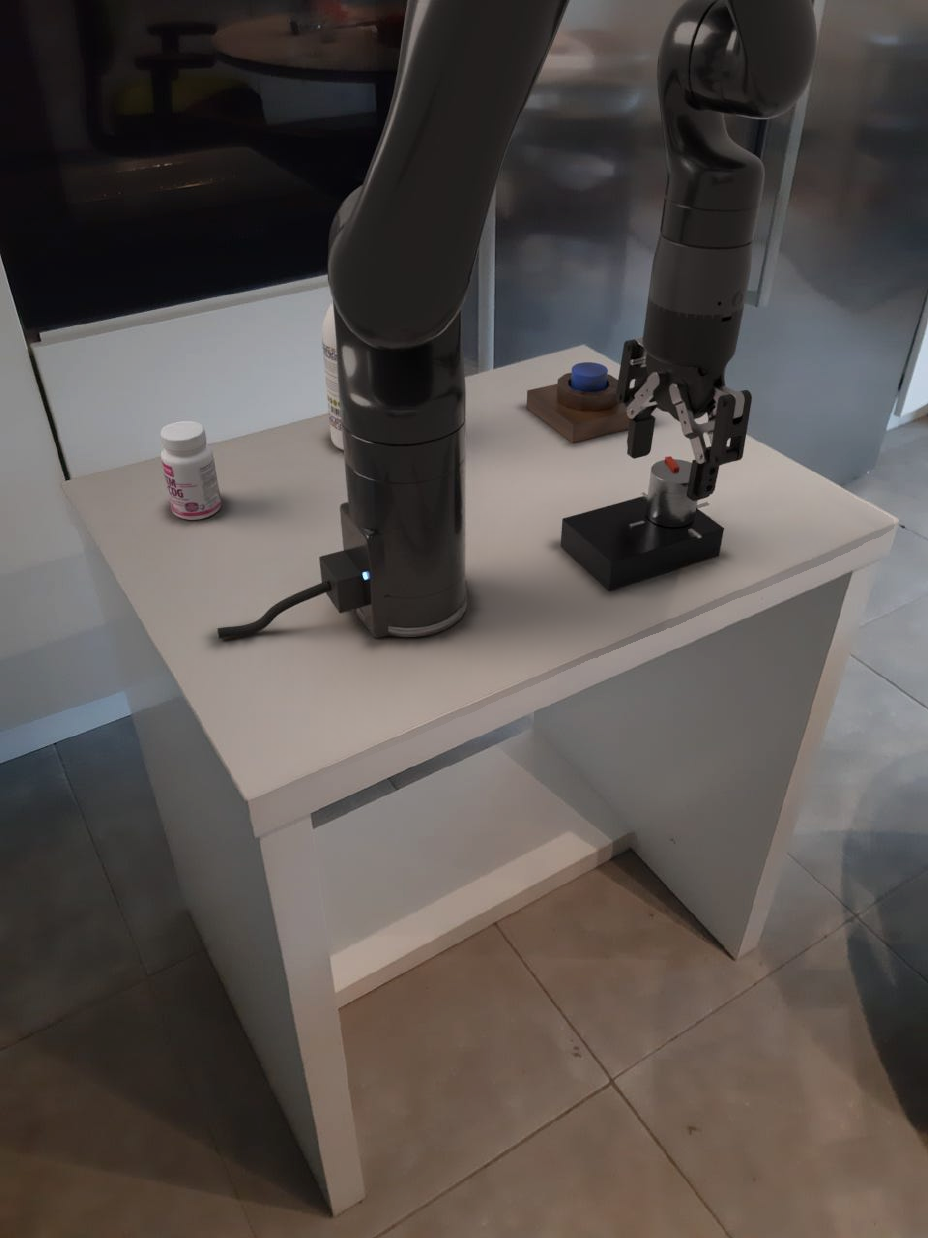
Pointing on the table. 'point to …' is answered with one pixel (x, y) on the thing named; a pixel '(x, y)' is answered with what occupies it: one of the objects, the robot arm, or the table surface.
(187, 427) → the pill bottle
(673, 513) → the knob
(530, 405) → the button block
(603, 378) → the button
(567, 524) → the panel
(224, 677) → the table surface
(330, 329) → the bath foam
